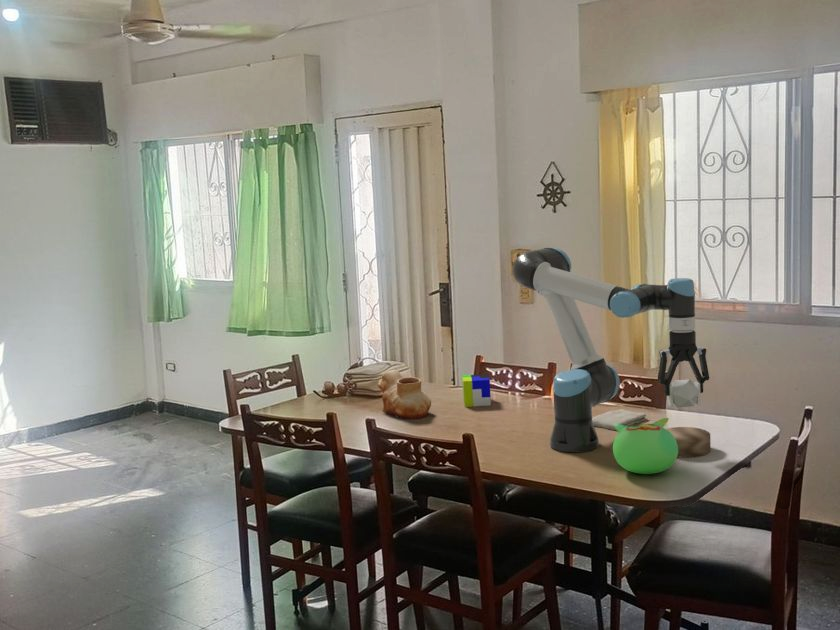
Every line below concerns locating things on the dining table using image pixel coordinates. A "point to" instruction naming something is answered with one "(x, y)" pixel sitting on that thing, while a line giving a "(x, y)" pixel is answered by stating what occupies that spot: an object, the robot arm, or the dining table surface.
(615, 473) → the dining table surface
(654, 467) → the green eared pot
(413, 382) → the ceramic vessel
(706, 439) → the plinth
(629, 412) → the washcloth
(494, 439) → the dining table surface
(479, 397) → the puzzle toy
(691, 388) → the die
